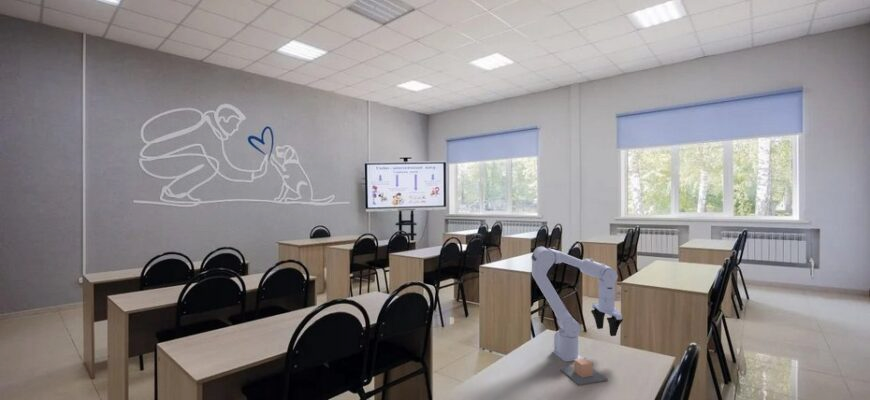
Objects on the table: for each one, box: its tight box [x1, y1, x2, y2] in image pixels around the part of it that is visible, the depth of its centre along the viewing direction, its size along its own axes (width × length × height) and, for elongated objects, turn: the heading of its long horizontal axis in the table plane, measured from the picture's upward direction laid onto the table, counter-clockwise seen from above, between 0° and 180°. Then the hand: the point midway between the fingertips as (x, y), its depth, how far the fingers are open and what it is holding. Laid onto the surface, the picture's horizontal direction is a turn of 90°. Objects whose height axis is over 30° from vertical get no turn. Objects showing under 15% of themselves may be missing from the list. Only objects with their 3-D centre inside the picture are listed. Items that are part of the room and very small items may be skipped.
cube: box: [573, 357, 594, 377], centre depth 140 cm, size 4×4×4 cm
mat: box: [560, 366, 608, 386], centre depth 140 cm, size 11×11×1 cm
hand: (606, 332), depth 154 cm, fingers open, 7 cm apart
